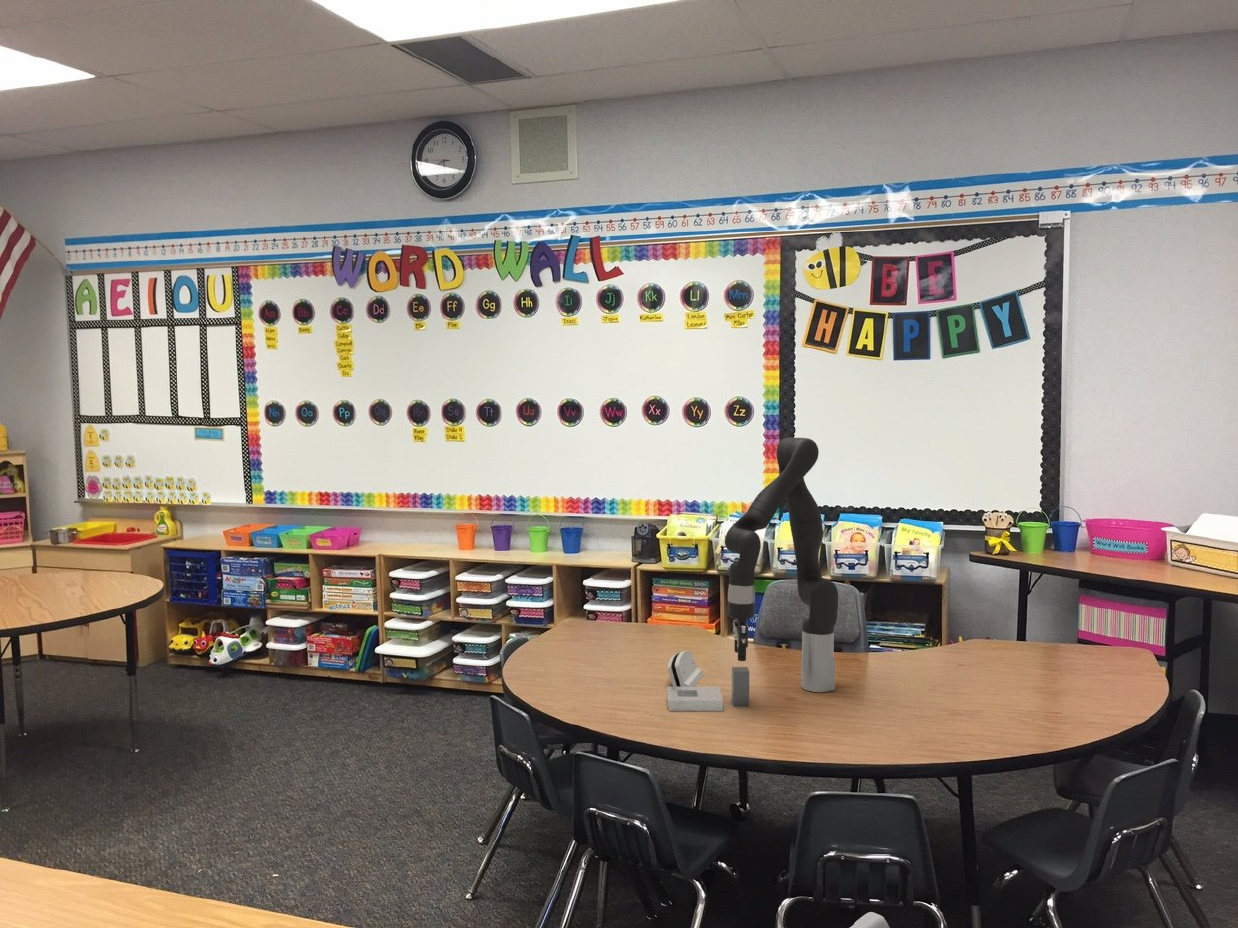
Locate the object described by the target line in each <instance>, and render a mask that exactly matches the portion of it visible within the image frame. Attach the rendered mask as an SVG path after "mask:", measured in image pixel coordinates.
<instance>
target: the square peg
mask: <svg viewBox="0 0 1238 928" xmlns="http://www.w3.org/2000/svg"><path fill="white" fill-rule="evenodd" d="M731 703H732V706H733V707H734V708H735V707H736V708H737V707H741V708H743V707H745V708H747V707H750V670H749V668H748V666H732V667H731Z"/></svg>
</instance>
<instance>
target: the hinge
mask: <svg viewBox="0 0 1238 928" xmlns="http://www.w3.org/2000/svg"><path fill="white" fill-rule="evenodd" d="M667 671H668V674H669V677H670V681H671V685H672V687H696V685H697V684H698V683H697V682H700V680H701V679H702V677H704V672H703V670H702V669H701V668H699V667H698V666H697V663H696V660H695V658H694V655H693V653H692V651H690V650H685V651H684V650H683V651H681V652H680V651H679V652H677V653H675V654H674V655H672V656H671V657H670V660H669V661H668V665H667ZM700 678H701V679H700Z"/></svg>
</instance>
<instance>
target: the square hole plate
mask: <svg viewBox="0 0 1238 928" xmlns="http://www.w3.org/2000/svg"><path fill="white" fill-rule="evenodd" d="M666 699H667V700H666V701H667V705H668V706H667V708H669V709H668V712H724V699H723V695H722V692H721V689H720V686H694V687H673V686H666Z"/></svg>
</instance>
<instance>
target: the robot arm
mask: <svg viewBox="0 0 1238 928" xmlns="http://www.w3.org/2000/svg"><path fill="white" fill-rule="evenodd" d="M819 452H820V451H819V447H818V444H817V443H816V442H815V441H814V440H813V439H812V438H807V437H784V438H783V439H781V440H780V441H779V443H778V445H777V447H776V460H777V465H778V469H779V474H778V476H777V477H776V478H775V479H773V480H772V481H771V482H770V483H769V484H767V485H766V486H765V487H764V488H763V489H761V491H760V492H759V493H758V494H757V495H756V497H755V498H754V500H753V501H752V503H751V505H750V506H749V507H748V509H747V510H746V512H745V513H744V514H743V515H741V517H739V519H737V521H735V523H733V525H731V527H730V528H729V529H728V531H727V532H726V534H725V537H724V546H725V548H726V550H728V551H729V552H731V553H733V554H738V556H739V557H738V560H737V561H736V562H735V561H734V562H733V563H731V564H730V566H729V568H728V569H729V571H728V574H729V575H728V589H727V617H729V618H731V619H733V621H732V634H733V639H734V648H733V649H734V652H735V653H737V661H738V662H745V661H746V660H747V648H749V623H748V621H747V620H748V619H749V620H750V619H753V618H754V617H755V607H756V606H755V605H756V599H755V598H756V589H755V570H756V567H757V564H758V559H759V557H760V553H761V547H762V546H761V545H762V543H761V539H760V536H759V535H758V533H757V531H760V530H764V529H766V528H767V527H768V526H769V524H770V523H771V521H772V519H773V518H774V517H775V515H776V513H777V511H778V510H779V508H780V507H781V505H782V504H783V503H784V501H785V500H786V505H787V512H788V518H789V526H790V532H791V536H792V537H791V538H792V543H793V551H794V556H795V563H796V579H797V580H796V583H797V592H798V596H799V597H798V598H799V599H800V601H802V603H803V604H805V605H807V606H809V616H808V618H806V619H804V620H803V621H802V626H801V628H802V629H801V631H802V632H801V634H802V635H801V679H800V681H801V688H802V689H803V690H805V691H807V692H808V691H809V692H813V693H826V692H832V691H835V690H836V658H835V656H834V654H835V653H834V652H835V651H834V650H835V649H834V648H835V647H834V645H835V644H834V643H835V641H834V640H835V626H836V624H837V620H838V612H839V610H838V609H839V589H838V588H837V586H836V584H835V583H834V582H833V581H831V580H829V579H827V578H824V577H822V572H821V567H820V561H819V559H820V557H819V555H820V550H821V546H822V543H823V538H824V527H823V519H822V515H821V511H820V510H821V509H820V507H819V506H818V503H817V502H816V500H815V498H814V497H813V495H812V493H811V491H810V490H809V489H808V488H809V487H807V485H806V481H805V476H806V475H807V474H808V473H809V472H810V471H811V469H812V468H813V467H814V466H815V464H816V463H817V461H818V458H819V455H820V454H819ZM743 641H744V642H743Z"/></svg>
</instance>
